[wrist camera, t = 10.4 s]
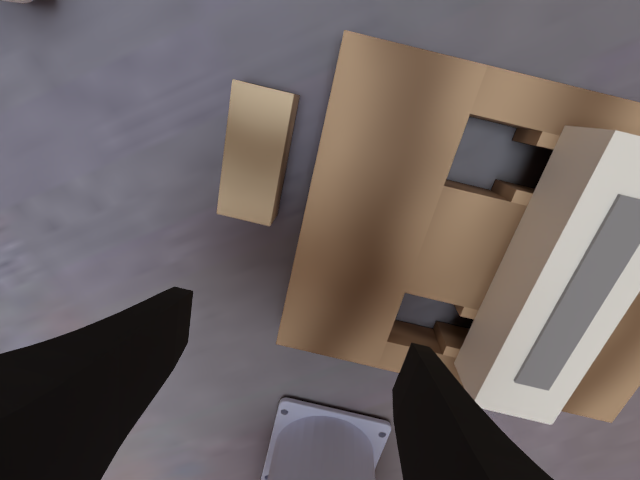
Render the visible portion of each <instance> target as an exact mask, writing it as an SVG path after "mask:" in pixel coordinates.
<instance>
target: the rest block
mask: <svg viewBox="0 0 640 480" xmlns="http://www.w3.org/2000/svg"><path fill="white" fill-rule="evenodd" d="M299 97H300V95H296V94H292V93H288V92H284V91H280V90H276V89H271V88H267V87H263V86H259V85H255V84H251V83H247V82H242V81H238V80H234V79H232V88H231V96H230V105H229V113H228V121H227V130H226V138H225V147H224V155H223V164H222V172H221V181H220V189H219V197H218V206H217V214H220V215H224V216H228V217H233V218H237V219H241V220H245V221H249V222H254V223H258V224H262V225H266V226H271V224H272V222H273V221H274V219H275V218H276V216H277V214H278V209H279V204H280V198H281V193H282V188H283V182H284V177H285V172H286V166H287V161H288V156H289V150H290V145H291V140H292V134H293V129H294V124H295V118H296V113H297V108H298V102H299Z"/></svg>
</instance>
